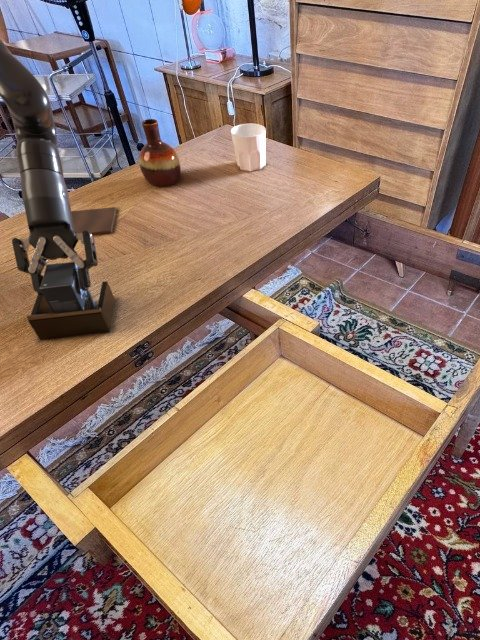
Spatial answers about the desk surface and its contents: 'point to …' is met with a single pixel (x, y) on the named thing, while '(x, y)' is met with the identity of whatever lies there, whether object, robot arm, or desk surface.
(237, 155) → the cup
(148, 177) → the vase
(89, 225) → the plate
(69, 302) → the box
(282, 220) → the desk surface
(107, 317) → the dark brown open tray
